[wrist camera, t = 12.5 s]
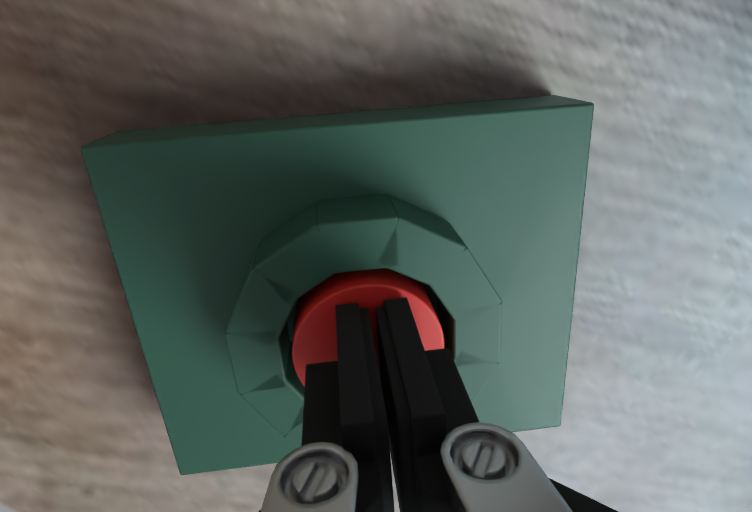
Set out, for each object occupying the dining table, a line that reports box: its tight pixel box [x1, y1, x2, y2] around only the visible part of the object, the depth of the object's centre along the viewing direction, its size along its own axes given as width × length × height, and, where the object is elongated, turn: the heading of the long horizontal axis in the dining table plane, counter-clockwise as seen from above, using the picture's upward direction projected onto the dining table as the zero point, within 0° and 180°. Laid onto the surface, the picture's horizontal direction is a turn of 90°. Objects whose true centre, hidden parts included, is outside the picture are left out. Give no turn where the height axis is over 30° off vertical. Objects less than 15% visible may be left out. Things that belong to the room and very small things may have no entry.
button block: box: [81, 95, 594, 475], centre depth 13 cm, size 12×10×4 cm
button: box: [292, 268, 444, 387], centre depth 12 cm, size 4×4×2 cm
